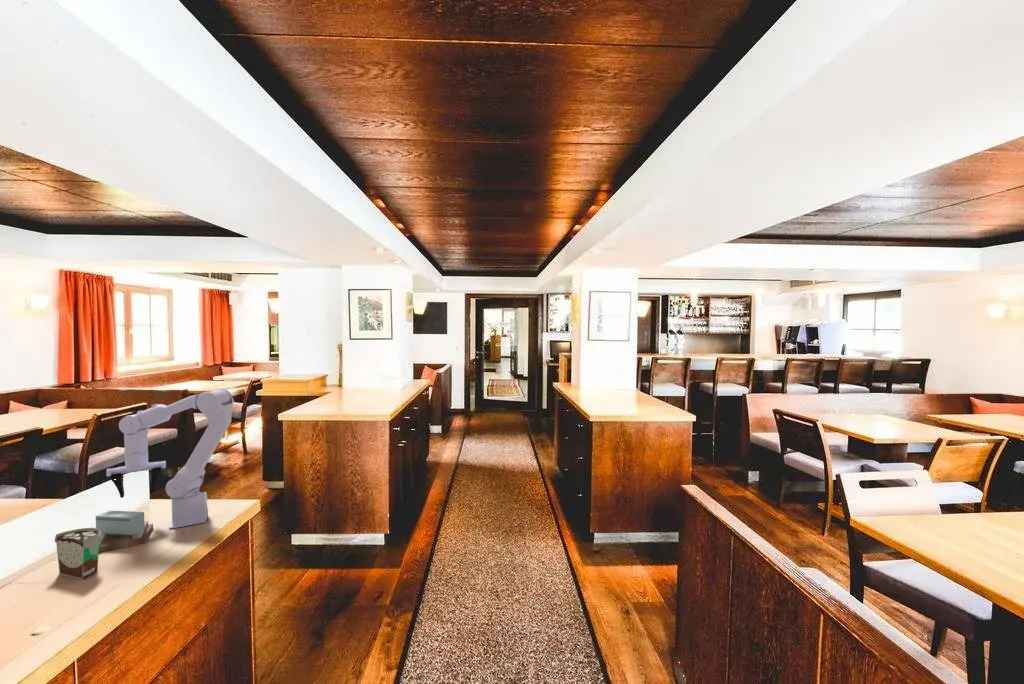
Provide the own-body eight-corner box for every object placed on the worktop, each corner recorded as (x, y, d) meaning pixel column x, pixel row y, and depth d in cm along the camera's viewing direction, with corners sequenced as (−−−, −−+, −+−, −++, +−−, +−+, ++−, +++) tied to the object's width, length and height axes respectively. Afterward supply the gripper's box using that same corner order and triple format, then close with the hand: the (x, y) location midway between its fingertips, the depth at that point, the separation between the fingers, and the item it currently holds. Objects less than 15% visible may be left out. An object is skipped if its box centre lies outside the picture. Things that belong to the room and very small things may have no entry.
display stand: (153, 528, 142) (152, 518, 142) (144, 543, 131) (144, 533, 131) (98, 538, 135) (98, 528, 135) (85, 554, 125) (84, 544, 125)
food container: (115, 568, 117) (114, 529, 117) (86, 580, 111) (85, 540, 111) (85, 561, 121) (83, 524, 121) (55, 573, 115) (54, 534, 115)
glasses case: (144, 528, 134) (144, 512, 134) (130, 535, 130) (129, 517, 130) (110, 527, 136) (109, 510, 136) (95, 533, 132) (94, 516, 132)
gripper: (104, 458, 137) (105, 503, 137) (164, 450, 145) (165, 492, 145) (107, 453, 143) (109, 496, 143) (165, 446, 151) (167, 486, 151)
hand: (138, 494), depth 145 cm, fingers open, 7 cm apart
